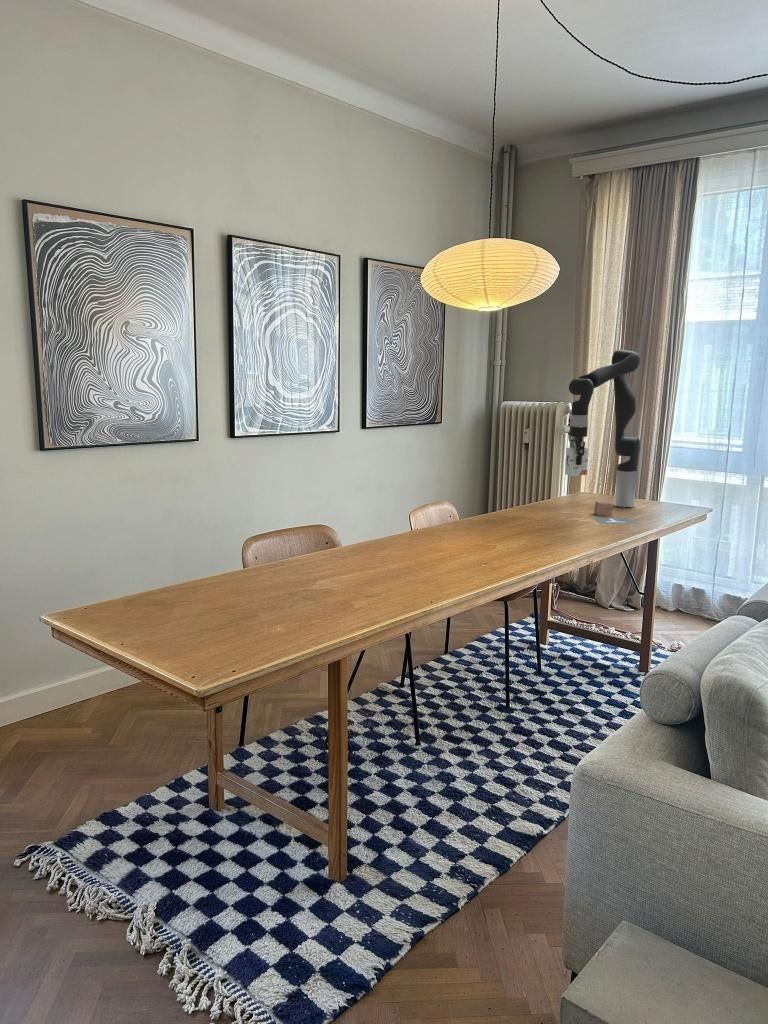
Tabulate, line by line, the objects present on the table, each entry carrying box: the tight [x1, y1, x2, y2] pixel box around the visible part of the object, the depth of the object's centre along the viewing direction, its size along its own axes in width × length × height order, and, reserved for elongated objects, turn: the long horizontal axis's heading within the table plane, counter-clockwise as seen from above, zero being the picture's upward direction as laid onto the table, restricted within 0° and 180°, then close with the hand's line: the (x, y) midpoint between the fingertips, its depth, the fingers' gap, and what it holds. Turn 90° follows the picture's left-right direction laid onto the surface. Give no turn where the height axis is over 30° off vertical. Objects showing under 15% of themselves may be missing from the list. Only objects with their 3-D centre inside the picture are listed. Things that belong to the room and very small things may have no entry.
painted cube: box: [593, 500, 614, 517], centre depth 345 cm, size 6×6×6 cm
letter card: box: [589, 516, 638, 525], centre depth 331 cm, size 16×16×1 cm
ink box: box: [564, 447, 589, 477], centre depth 336 cm, size 9×5×12 cm, turn 114°
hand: (576, 463), depth 336 cm, fingers closed on ink box, 6 cm apart
